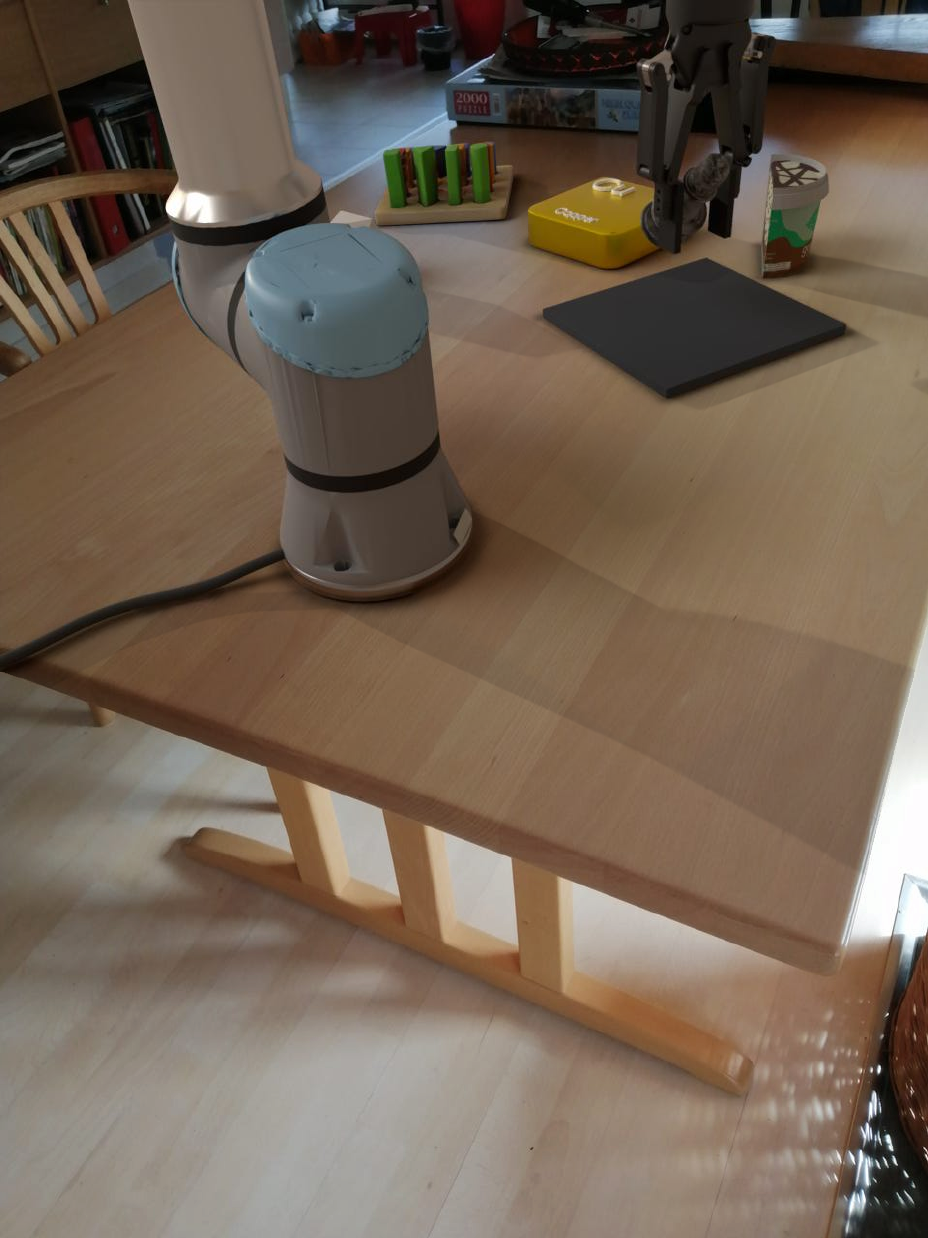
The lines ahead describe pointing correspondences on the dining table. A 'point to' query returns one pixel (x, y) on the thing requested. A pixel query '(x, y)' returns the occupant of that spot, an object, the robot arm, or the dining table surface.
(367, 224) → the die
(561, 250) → the element tile
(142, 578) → the dining table surface
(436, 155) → the peg board
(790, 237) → the food container
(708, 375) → the mat
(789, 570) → the dining table surface
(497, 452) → the dining table surface
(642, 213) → the salt shaker
